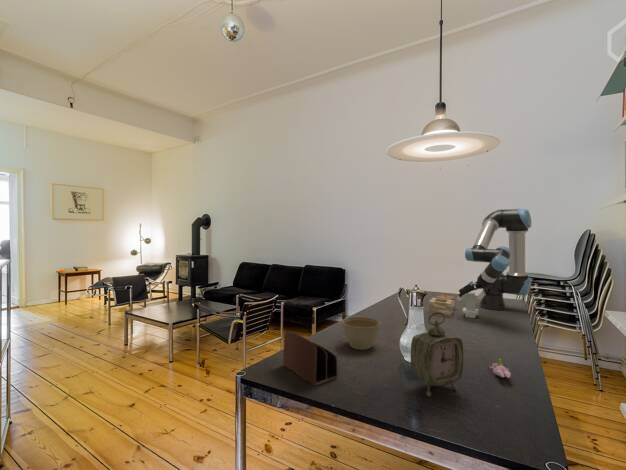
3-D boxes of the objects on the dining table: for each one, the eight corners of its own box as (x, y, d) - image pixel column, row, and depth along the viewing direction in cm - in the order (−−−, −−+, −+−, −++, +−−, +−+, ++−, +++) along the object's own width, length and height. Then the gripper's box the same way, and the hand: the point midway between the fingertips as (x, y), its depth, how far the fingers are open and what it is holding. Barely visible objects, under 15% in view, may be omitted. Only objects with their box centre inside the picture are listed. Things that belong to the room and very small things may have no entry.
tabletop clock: (427, 400, 96) (428, 317, 95) (407, 387, 104) (408, 310, 103) (462, 391, 101) (464, 313, 101) (441, 378, 110) (442, 306, 109)
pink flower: (487, 370, 120) (495, 381, 106) (486, 353, 121) (494, 362, 107) (506, 372, 118) (516, 384, 104) (505, 355, 119) (516, 365, 105)
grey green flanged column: (463, 314, 195) (463, 291, 194) (478, 315, 191) (478, 292, 191) (462, 317, 188) (462, 293, 187) (477, 319, 184) (478, 294, 184)
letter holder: (314, 387, 104) (315, 344, 103) (282, 366, 120) (283, 328, 119) (337, 378, 110) (338, 338, 109) (304, 359, 125) (304, 324, 125)
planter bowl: (334, 346, 140) (334, 321, 139) (356, 337, 151) (356, 314, 151) (365, 356, 129) (366, 329, 128) (386, 345, 140) (386, 321, 140)
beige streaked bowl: (432, 310, 203) (432, 297, 203) (452, 312, 198) (452, 299, 197) (429, 314, 193) (429, 301, 193) (450, 317, 187) (450, 303, 187)
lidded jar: (438, 310, 203) (438, 295, 203) (435, 306, 213) (435, 292, 213) (456, 311, 201) (456, 296, 201) (452, 307, 212) (452, 293, 211)
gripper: (503, 271, 181) (483, 293, 196) (464, 272, 176) (447, 294, 191) (510, 282, 176) (490, 303, 191) (470, 283, 171) (452, 305, 186)
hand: (468, 299), depth 191 cm, fingers open, 13 cm apart
